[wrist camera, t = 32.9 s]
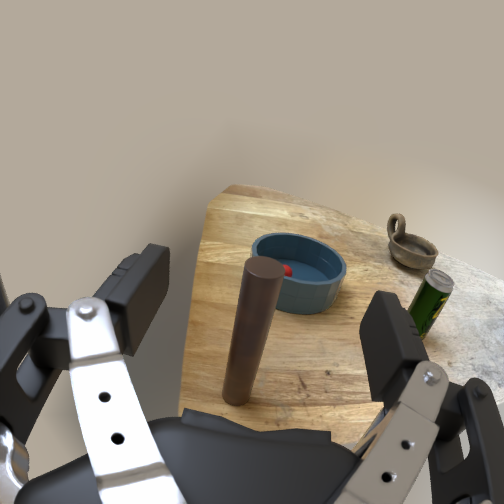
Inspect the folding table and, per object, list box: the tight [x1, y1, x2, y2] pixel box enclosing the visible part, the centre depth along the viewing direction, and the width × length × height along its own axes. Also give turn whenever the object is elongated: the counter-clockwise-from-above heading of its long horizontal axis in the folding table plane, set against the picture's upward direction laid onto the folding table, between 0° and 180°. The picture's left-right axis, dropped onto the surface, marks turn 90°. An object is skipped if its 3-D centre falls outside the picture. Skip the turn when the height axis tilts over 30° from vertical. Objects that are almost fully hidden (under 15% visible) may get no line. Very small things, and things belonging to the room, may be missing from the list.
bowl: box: [387, 214, 438, 269], centre depth 69 cm, size 14×18×10 cm
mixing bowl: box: [250, 233, 346, 314], centre depth 53 cm, size 17×17×6 cm
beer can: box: [407, 269, 454, 340], centre depth 43 cm, size 5×5×12 cm
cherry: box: [283, 265, 292, 277], centre depth 53 cm, size 3×3×3 cm
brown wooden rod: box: [222, 256, 285, 406], centre depth 28 cm, size 3×3×18 cm
